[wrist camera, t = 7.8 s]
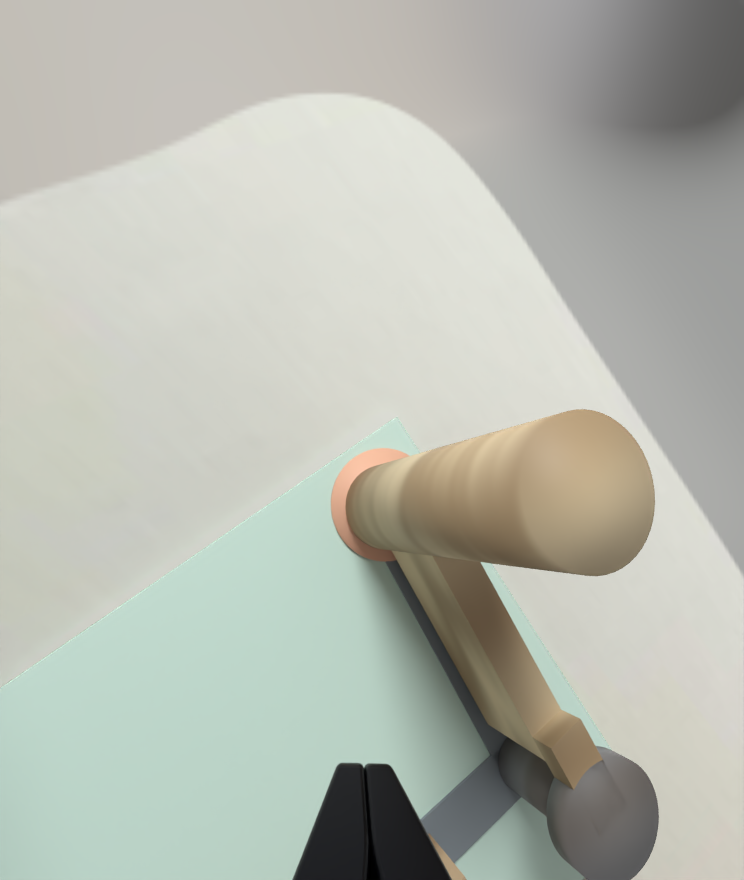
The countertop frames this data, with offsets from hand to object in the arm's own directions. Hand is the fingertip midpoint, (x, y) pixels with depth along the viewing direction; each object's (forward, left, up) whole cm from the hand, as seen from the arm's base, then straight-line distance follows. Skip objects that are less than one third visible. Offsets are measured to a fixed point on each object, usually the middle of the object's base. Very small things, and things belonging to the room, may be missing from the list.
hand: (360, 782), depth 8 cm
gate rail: (+5, -3, -8) cm, 10 cm away
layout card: (-1, -5, -9) cm, 10 cm away
